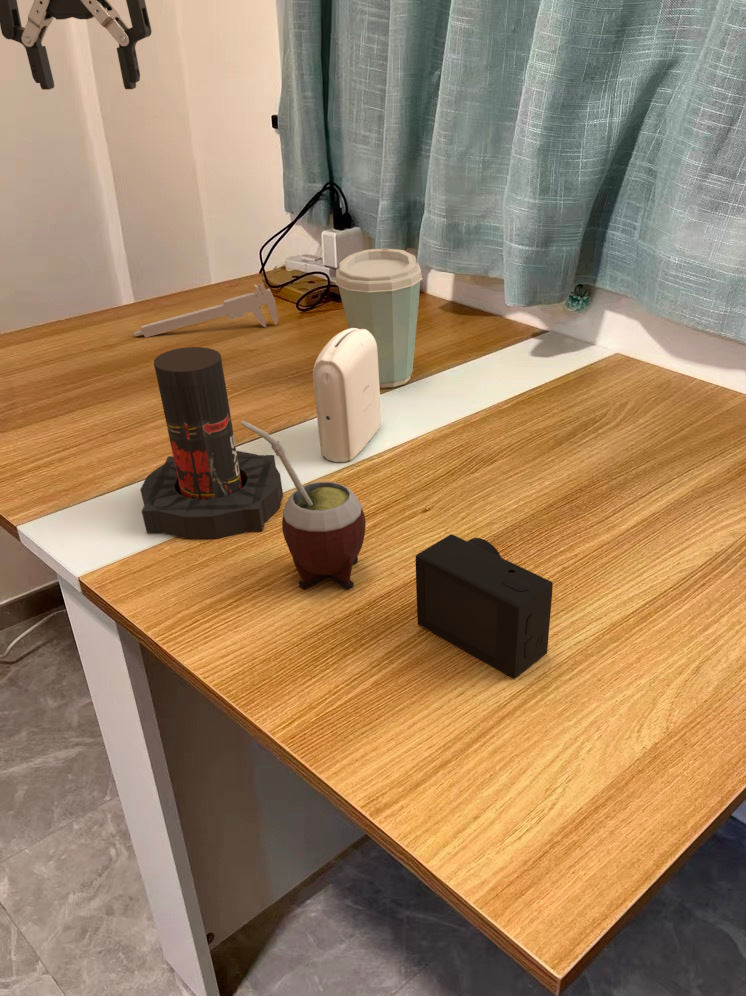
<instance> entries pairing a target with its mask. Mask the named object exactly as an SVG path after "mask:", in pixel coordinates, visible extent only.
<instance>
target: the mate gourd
mask: <svg viewBox="0 0 746 996" xmlns="http://www.w3.org/2000/svg"><path fill="white" fill-rule="evenodd" d="M241 426H243V427H245V428H247V429H248V430H250V431H252V432H253V433H255V434H256V435H258V436H260V437H261V438H263V439H264V440H265V441H266V442H268V443H269V444H270V447H271V449H272V451H273V452H274V454H275V455H276V456H277V457H279V459H280V461H281V463H282V465H283V466H284V468H285V470H286V472H287V474H288V476H289V477H290V479H291V481H292V484H293V485H294V487H295V489H296V490H294V491H293V492H292V493H291V494H290V496H289V497H288V499H287V501H286V502H285V505H284V506H283V507H284V508H283V511H282V520H281V529H282V534H283V538H284V541H285V543H286V546H287V548H288V551H289V553H290V555H291V557H292V561H293V564H294V566H295V569H296V571H297V573H298V575H299V578H300V581H298V582H297V584H298V586H299V588H300V589H301V590H304V591H305V590H307V589H310V588H311V587H313V586H315V585H318V584H319V583H322V582H324V581H325V580H331V581H332V582H334V583H335V584H337V585H338V586H340V587H341V588H342V589H344V590H346V591H349V590H351V589H353V588H354V587H355V586H354V585H355V582H354V581H352V579H351V576H352V575H351V574H352V569H353V566H355V565H356V564H358V562H359V557H358V556H359V555H360V552H361V550H362V547H363V545H364V540H365V535H366V525H367V522H366V516H365V512H364V510H363V505H362V503H361V502H360V500H359V498H358V497H357V496H356V494H355V493H354V492H353V491H352V490H351V489H350V488H349V487H347V486H345V485H343V484H342V483H338V482H334V481H316V482H309V483H307V484H304V485H302V482H301V481H300V479H299V477H298V475H297V473H296V471H295V470H294V467H293V466H292V464H291V461H290V460H289V458H288V456H287V454H286V449H285V447H284V446H283V445H282V443H281V442H280V441H279V440H276V438H275V437H274V436H272V435H270V434H269V433H268V432H267V431H265V430H263V429H261V428H259V427H258V426H255V425H254V424H252V423H249V422H248V421H245V420H243V419H242V420H241Z"/></svg>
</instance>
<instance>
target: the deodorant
mask: <svg viewBox="0 0 746 996" xmlns="http://www.w3.org/2000/svg"><path fill="white" fill-rule="evenodd" d="M153 367H154V372H155V376H156V380H157V384H158V385H157V386H158V391H159V395H160V400H161V404H162V409H163V415H164V418H165V423H166V429H167V433H168V438H169V442H170V447H171V451H172V456H173V457H174V462H175V467H176V472H177V476H178V481H179V486H180V491H181V495H182V496H184V497H186V498H191V499H196V500H211V499H216V498H220V497H225V496H228V495H230V494H233V493H235V492H237V491H239V490H240V489H241V488H242V483H241V477H240V471H239V465H238V459H237V452H236V451H237V448H236V441H235V435H234V427H233V423H232V421H233V420H232V417H231V410H230V403H229V398H228V391H227V386H226V380H225V379H226V378H225V372H224V367H223V361H222V355H221V353H220V352H219V351H218V350H215V349H213V348H209V347H202V346H189V347H188V346H186V347H180V348H175V349H171V350H168V351H165V352H163V353H160V354H159V355H157V356H156V357H155V359H154V360H153Z"/></svg>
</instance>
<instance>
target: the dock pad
mask: <svg viewBox="0 0 746 996" xmlns="http://www.w3.org/2000/svg"><path fill="white" fill-rule="evenodd" d="M236 452H237V459H238V465H239V471H240V477H241V483H242V488H241V489H240V490H239V491H237V492H235V493H233V494H230V495H228V496H225V497H220V498H216V499H211V500H196V499H191V498H186V497H184V496H182V495H181V491H180V486H179V481H178V476H177V472H176V467H175V462H174V457H173V455H171V456H167V457H166V459H165V461H164V464H162V465H160V466H159V467H157V468H156V469H154V470H153V471H152V472H151V473H149V474H148V475H146V477H145V479H144V482H143V484H142V485H141V487H140V494H141V499H142V502H143V507H142V509H141V515H142V519H143V522H144V527H145V531H146V534H164V535H168V536H173V537H178V538H181V539H186V540H188V539H189V540H202V539H204V540H205V539H207V540H209V539H221V538H224V537H225V538H226V537H229V536H234V535H239V534H243V533H246V532H247V533H248V532H263V530H264V526H265V523H266V522H267V521H269V520H270V519H271V518H272V516H274V515H275V514H276V513H277V512H278V511H279V510H280V508H281V505H282V501H283V497H284V493H283V485H282V479H281V473H280V472H279V470H278V469H277V466H276V460H275V459H276V458H275V455H274V454H257V453H251V452H246V451H241V450H236Z"/></svg>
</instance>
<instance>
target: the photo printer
mask: <svg viewBox="0 0 746 996" xmlns="http://www.w3.org/2000/svg"><path fill="white" fill-rule="evenodd" d="M312 381H313V391H314V401H315V410H316V421H317V430H318V439H319V440H318V441H319V449H320V450H319V451H320V454H321V456H323V457H324V458H325V459H326V460H328V461H330V462H335V463H346V462H348V461H351V460H353V459H354V458H355V457H356V456H358V455H359V454H360V452H361V451H362V450H363V449H364V448H365V447H366V446H367V444H368V443H369V442H370V441H371V439H372V438H374V436H375V435H376V433H377V431H379V429H380V427H381V424H382V409H381V408H382V407H381V388H380V387H379V370H378V353H377V344H376V341H375V339H374V337H373V336H372V334H371V333H370V332H369V331H367V330H366V329H358V328H350V329H349V328H347V329H344V330H342V331H340V332H338V333H337V334H335V335H334V336H333V337H332V338H331V339H329V341H328V342H327V343H326V344H325V345H324V347H323V348H322V349H321V351H320V352H319V354H318V356H317V357H316V360H315V362H314V365H313V369H312Z"/></svg>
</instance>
